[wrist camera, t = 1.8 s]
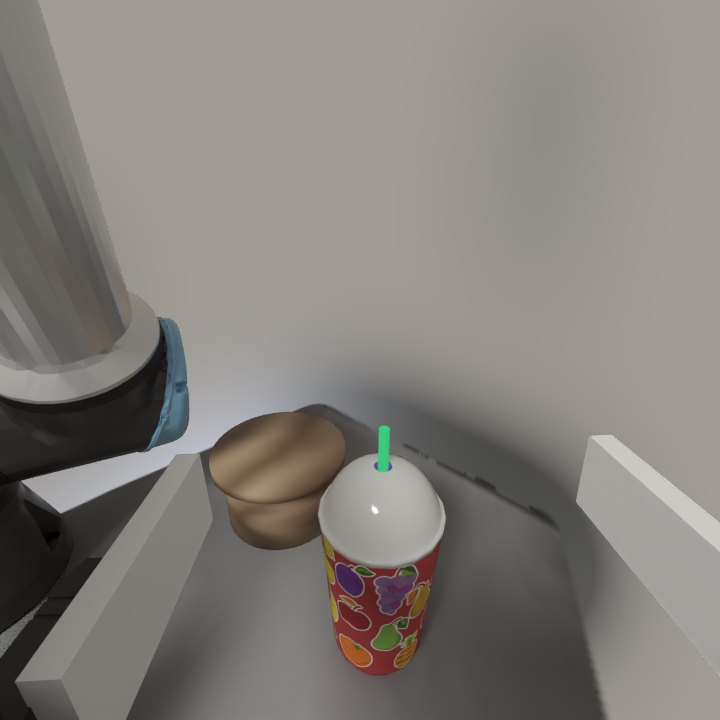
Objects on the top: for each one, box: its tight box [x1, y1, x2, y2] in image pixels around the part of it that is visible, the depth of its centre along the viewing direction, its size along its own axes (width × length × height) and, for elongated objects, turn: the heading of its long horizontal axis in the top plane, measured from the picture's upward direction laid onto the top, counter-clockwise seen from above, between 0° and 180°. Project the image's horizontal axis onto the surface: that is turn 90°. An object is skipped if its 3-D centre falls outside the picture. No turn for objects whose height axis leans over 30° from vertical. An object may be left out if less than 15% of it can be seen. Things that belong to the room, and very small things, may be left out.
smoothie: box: [318, 426, 446, 675], centre depth 27 cm, size 8×8×20 cm
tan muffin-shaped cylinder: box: [209, 412, 346, 550], centre depth 42 cm, size 14×14×8 cm
